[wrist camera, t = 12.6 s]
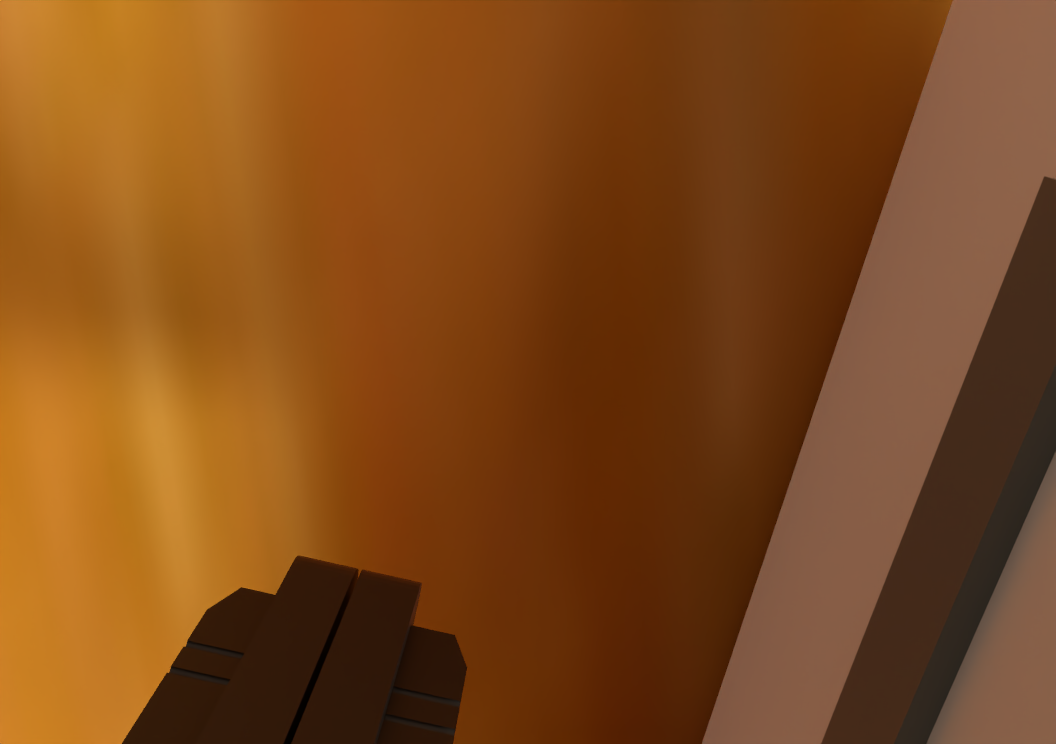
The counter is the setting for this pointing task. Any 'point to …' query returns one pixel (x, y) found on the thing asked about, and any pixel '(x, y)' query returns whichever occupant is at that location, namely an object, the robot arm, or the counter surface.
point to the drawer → (930, 440)
